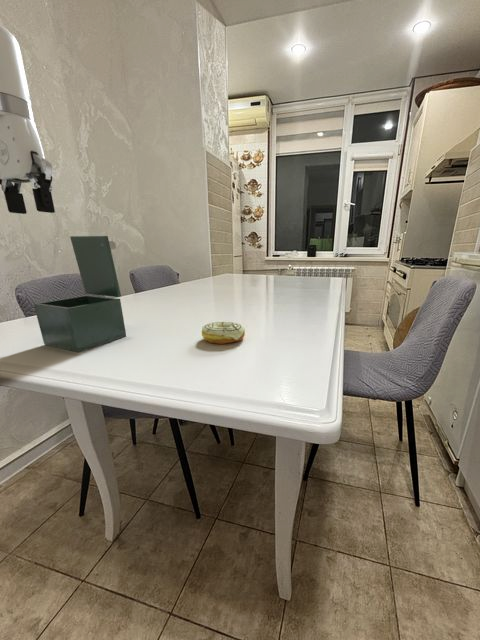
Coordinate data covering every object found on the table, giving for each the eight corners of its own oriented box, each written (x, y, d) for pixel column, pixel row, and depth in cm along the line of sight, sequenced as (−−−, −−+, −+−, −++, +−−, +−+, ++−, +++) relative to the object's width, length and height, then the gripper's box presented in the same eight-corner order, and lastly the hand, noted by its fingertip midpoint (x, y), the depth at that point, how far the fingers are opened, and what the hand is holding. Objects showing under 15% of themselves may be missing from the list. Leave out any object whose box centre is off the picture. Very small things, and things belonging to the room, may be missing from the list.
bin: (78, 352, 64) (68, 308, 61) (44, 344, 69) (33, 303, 65) (126, 336, 75) (120, 298, 72) (94, 330, 80) (87, 295, 77)
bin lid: (104, 236, 66) (123, 235, 70) (69, 236, 70) (89, 235, 75) (118, 297, 71) (135, 292, 76) (85, 293, 76) (103, 289, 80)
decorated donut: (246, 345, 69) (245, 329, 68) (200, 346, 68) (199, 331, 67) (244, 332, 79) (243, 318, 78) (204, 333, 78) (203, 319, 77)
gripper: (-40, 112, 55) (-13, 211, 61) (13, 96, 48) (37, 209, 54) (6, 126, 61) (27, 215, 67) (58, 114, 55) (76, 213, 61)
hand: (31, 212), depth 61 cm, fingers open, 9 cm apart
